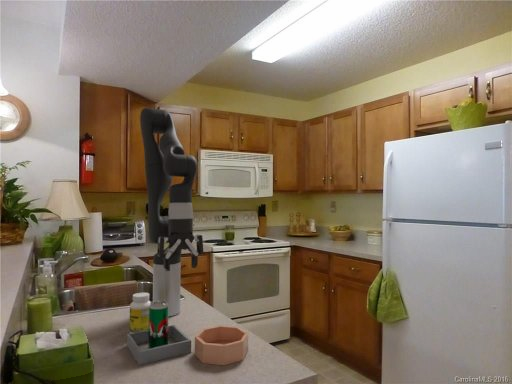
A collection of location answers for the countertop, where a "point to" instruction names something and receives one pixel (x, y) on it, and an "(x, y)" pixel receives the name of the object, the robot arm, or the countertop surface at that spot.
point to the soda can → (158, 324)
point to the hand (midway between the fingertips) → (180, 269)
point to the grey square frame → (158, 352)
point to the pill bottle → (139, 312)
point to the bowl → (221, 345)
